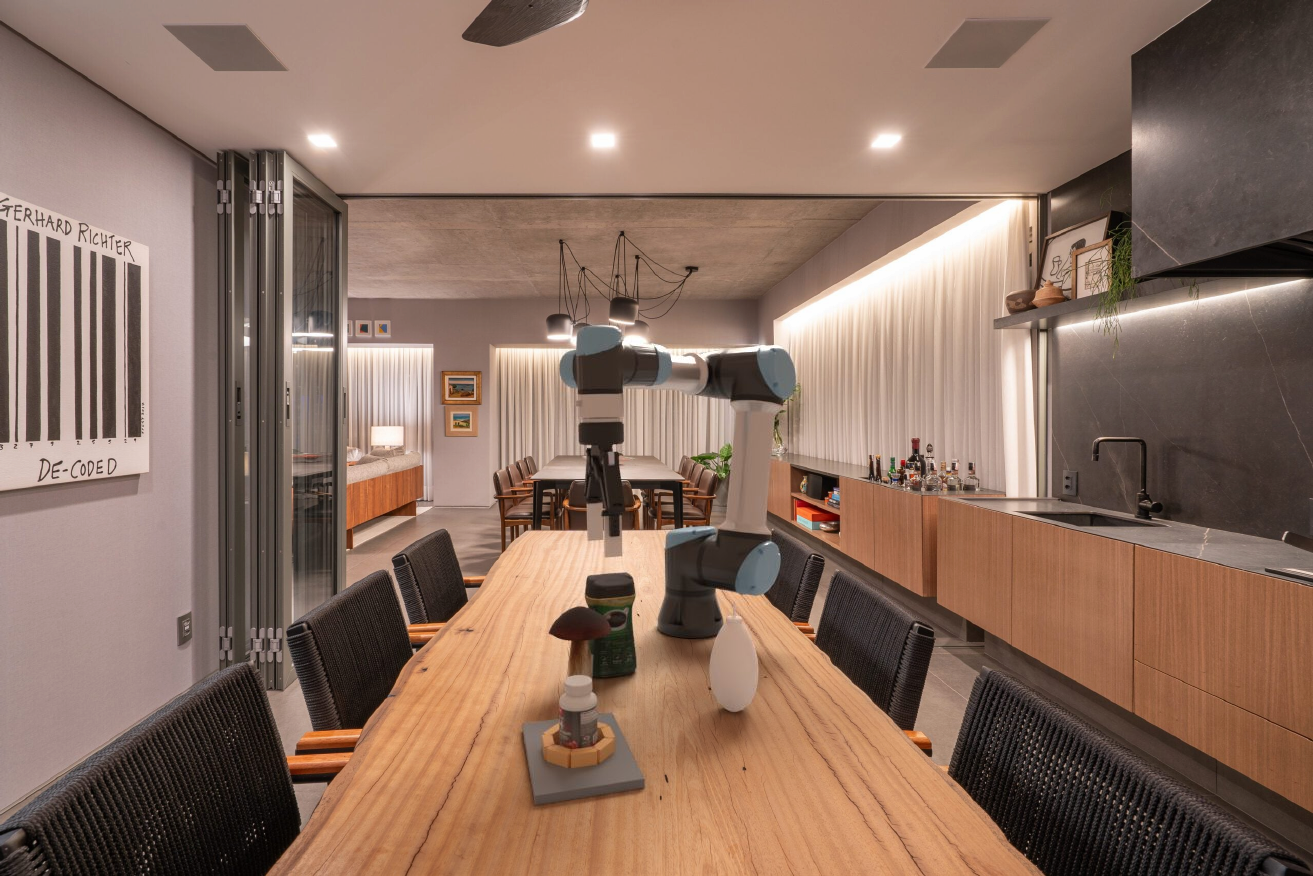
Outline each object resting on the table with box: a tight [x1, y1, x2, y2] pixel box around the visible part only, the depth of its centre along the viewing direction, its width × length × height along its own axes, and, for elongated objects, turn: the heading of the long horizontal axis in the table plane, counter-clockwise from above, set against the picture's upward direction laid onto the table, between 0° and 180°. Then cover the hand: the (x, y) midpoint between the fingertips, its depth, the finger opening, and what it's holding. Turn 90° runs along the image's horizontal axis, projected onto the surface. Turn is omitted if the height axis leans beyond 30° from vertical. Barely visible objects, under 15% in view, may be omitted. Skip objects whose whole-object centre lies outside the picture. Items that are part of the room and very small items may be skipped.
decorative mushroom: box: [548, 605, 612, 680], centre depth 113 cm, size 11×11×15 cm
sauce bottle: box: [708, 600, 759, 713], centre depth 106 cm, size 8×8×18 cm
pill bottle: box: [558, 675, 598, 749], centre depth 91 cm, size 5×5×10 cm
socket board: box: [521, 711, 646, 806], centre depth 91 cm, size 14×20×3 cm
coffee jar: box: [584, 571, 638, 678], centre depth 123 cm, size 10×8×19 cm
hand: (603, 548), depth 108 cm, fingers open, 13 cm apart
